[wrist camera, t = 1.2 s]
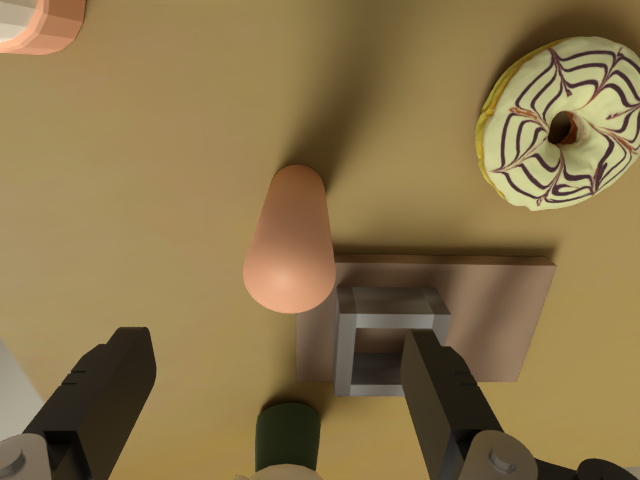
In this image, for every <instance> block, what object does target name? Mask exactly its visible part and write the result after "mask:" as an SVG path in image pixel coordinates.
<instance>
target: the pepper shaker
mask: <svg viewBox="0 0 640 480" xmlns="http://www.w3.org/2000/svg"><path fill="white" fill-rule="evenodd" d="M85 4H86V0H0V52H1V53H17V54H34V55H47V54H50V53H54V52H57V51H60V50H62V49H64V48H65V47H66V46H67V45H68V44H69V43H71V42H72V41H73V40H74V39H75V38H76V36H77V34H78V32H79V30H80V28H81V26H82V24H83V20H84V12H85Z"/></svg>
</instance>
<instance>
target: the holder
mask: <svg viewBox="0 0 640 480" xmlns="http://www.w3.org/2000/svg"><path fill="white" fill-rule="evenodd" d="M334 261H335V268H336V279H335V284H334V287H333V289H332V291H331V293H330V294H329V296H328V297H327V298H326V299H325V300H324V301H323V302H322V303H321V304H319V305H318V306H316V307H314V308H312V309H310V310H308V311H304V312H300V313H296V382H333V384H334V396H405V395H404V391H403V388H402V384H401V376H400V368H401V361H402V355H403V349H404V343H405V337H406V332H407V330H408V329H431V330H433V331H434V333H435V335H436V337H437V339H438V341H439V343H440V345H441V346H451V347H452V348H453V349H454V350H455V351H456V352H457V353H458V354H459V355H460V356H462V357H463V358H464V360H465V362H466V364H467V366H468V367H469V369H470V371H471V375H473V377H474V378H475V380H476V382H517V380H518V377H519V374H520V371H521V369H522V366H523V363H524V360H525V357H526V354H527V351H528V348H529V345H530V342H531V340H532V337H533V334H534V331H535V328H536V325H537V322H538V319H539V316H540V313H541V311H542V308H543V305H544V302H545V299H546V296H547V293H548V290H549V287H550V284H551V282H552V279H553V276H554V273H555V270H556V267H557V266H556V265H555V264H554V263H553V262H551V261H550V260H549V259H548V258H546V257H522V256H458V255H393V254H334Z"/></svg>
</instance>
